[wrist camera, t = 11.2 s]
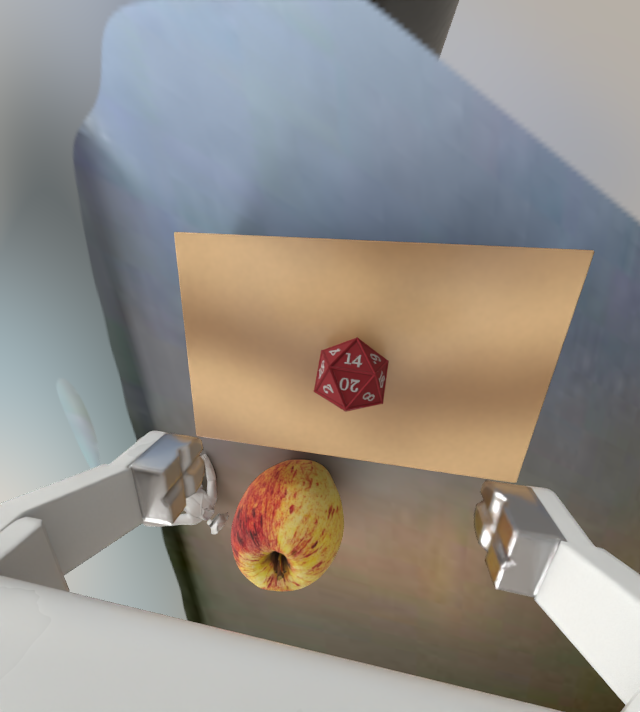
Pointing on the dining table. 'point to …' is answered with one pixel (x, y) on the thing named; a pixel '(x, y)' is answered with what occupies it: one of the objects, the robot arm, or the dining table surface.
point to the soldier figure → (201, 505)
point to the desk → (377, 344)
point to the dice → (351, 375)
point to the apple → (288, 526)
